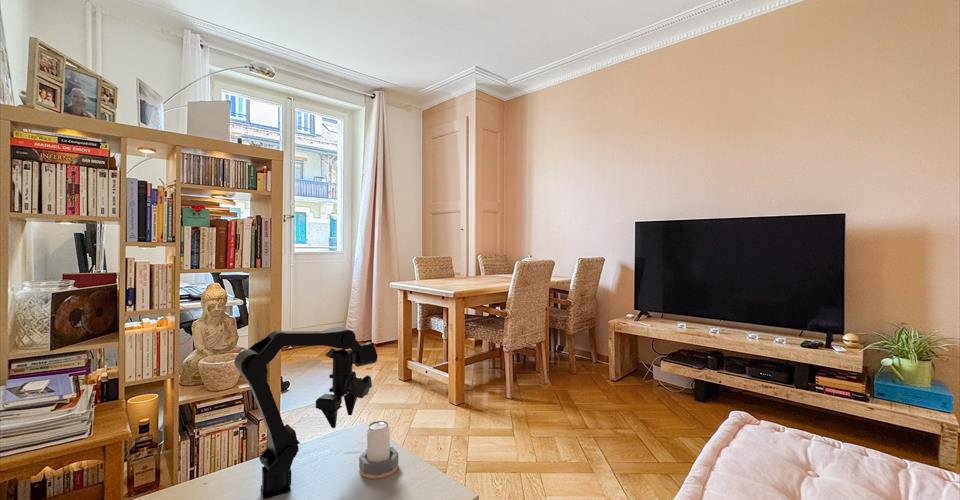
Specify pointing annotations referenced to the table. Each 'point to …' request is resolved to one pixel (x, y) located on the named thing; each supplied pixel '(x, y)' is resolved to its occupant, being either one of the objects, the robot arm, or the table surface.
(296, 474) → the table surface
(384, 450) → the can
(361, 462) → the socket
